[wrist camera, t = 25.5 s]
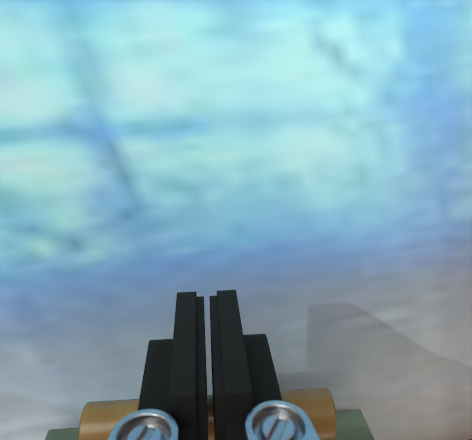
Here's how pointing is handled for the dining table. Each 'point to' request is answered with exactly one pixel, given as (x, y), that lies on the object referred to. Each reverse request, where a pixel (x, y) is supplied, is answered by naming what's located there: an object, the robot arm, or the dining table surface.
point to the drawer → (309, 400)
